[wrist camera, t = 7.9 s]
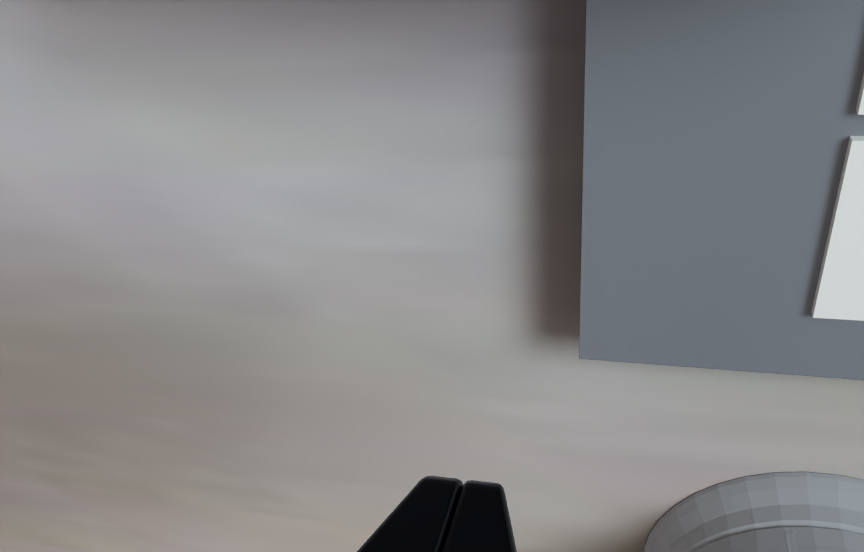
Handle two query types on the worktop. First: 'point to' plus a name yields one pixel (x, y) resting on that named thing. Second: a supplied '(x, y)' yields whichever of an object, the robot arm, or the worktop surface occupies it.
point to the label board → (724, 185)
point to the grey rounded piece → (767, 516)
